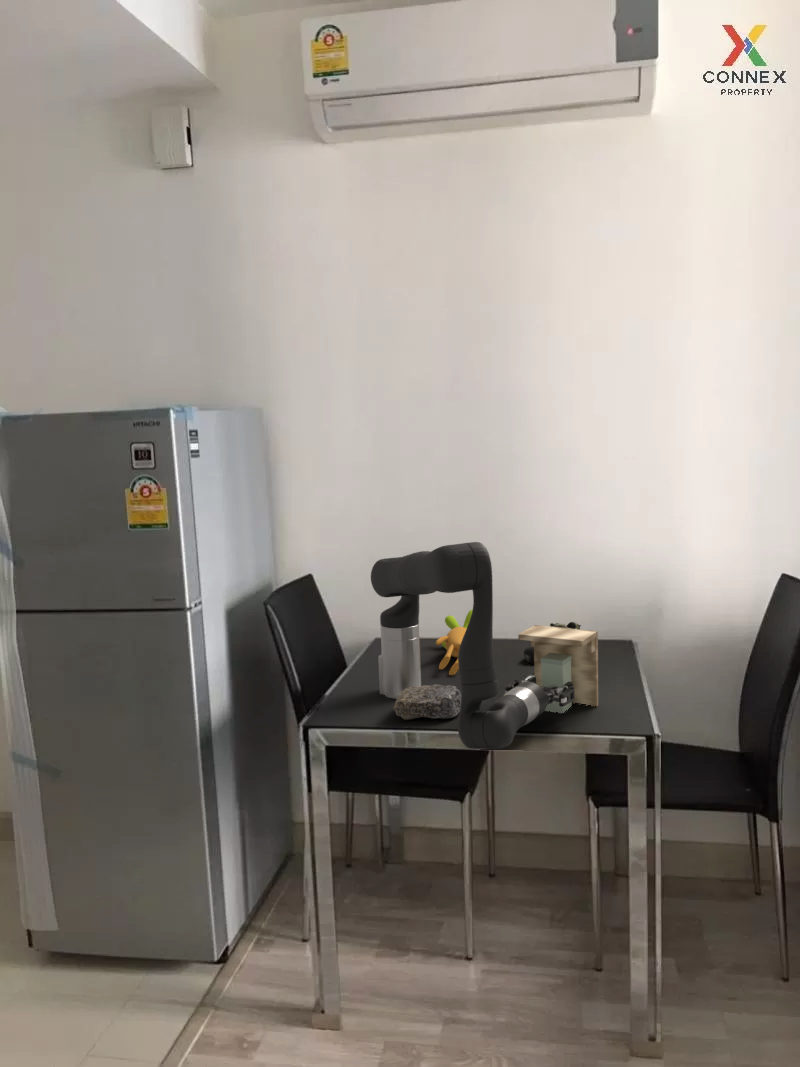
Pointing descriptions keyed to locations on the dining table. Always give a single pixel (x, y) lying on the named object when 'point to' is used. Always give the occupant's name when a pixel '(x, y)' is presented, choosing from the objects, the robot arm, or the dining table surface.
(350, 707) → the dining table surface
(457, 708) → the rock
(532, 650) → the hiking shoe
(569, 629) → the shelf
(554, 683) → the tin
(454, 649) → the toy
